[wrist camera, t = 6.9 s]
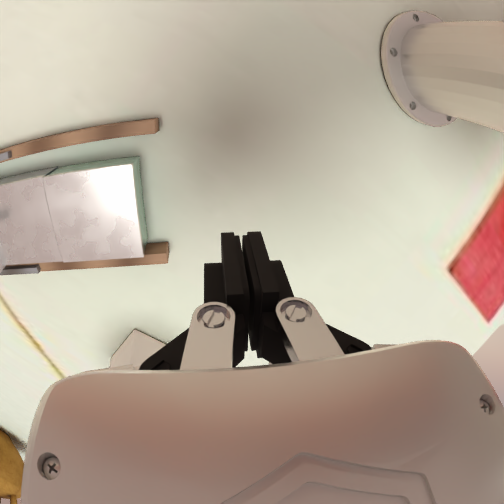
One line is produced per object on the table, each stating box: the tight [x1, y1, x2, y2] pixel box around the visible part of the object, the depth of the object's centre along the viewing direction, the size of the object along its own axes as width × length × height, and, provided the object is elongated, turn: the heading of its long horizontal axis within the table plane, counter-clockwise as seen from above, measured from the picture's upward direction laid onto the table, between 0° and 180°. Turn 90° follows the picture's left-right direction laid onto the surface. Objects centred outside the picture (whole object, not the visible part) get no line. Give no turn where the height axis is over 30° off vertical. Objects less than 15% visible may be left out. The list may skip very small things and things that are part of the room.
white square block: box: [0, 167, 63, 265], centre depth 20 cm, size 8×8×4 cm
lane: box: [0, 118, 169, 275], centre depth 19 cm, size 20×12×6 cm, turn 88°
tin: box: [43, 156, 148, 262], centre depth 21 cm, size 8×8×4 cm
